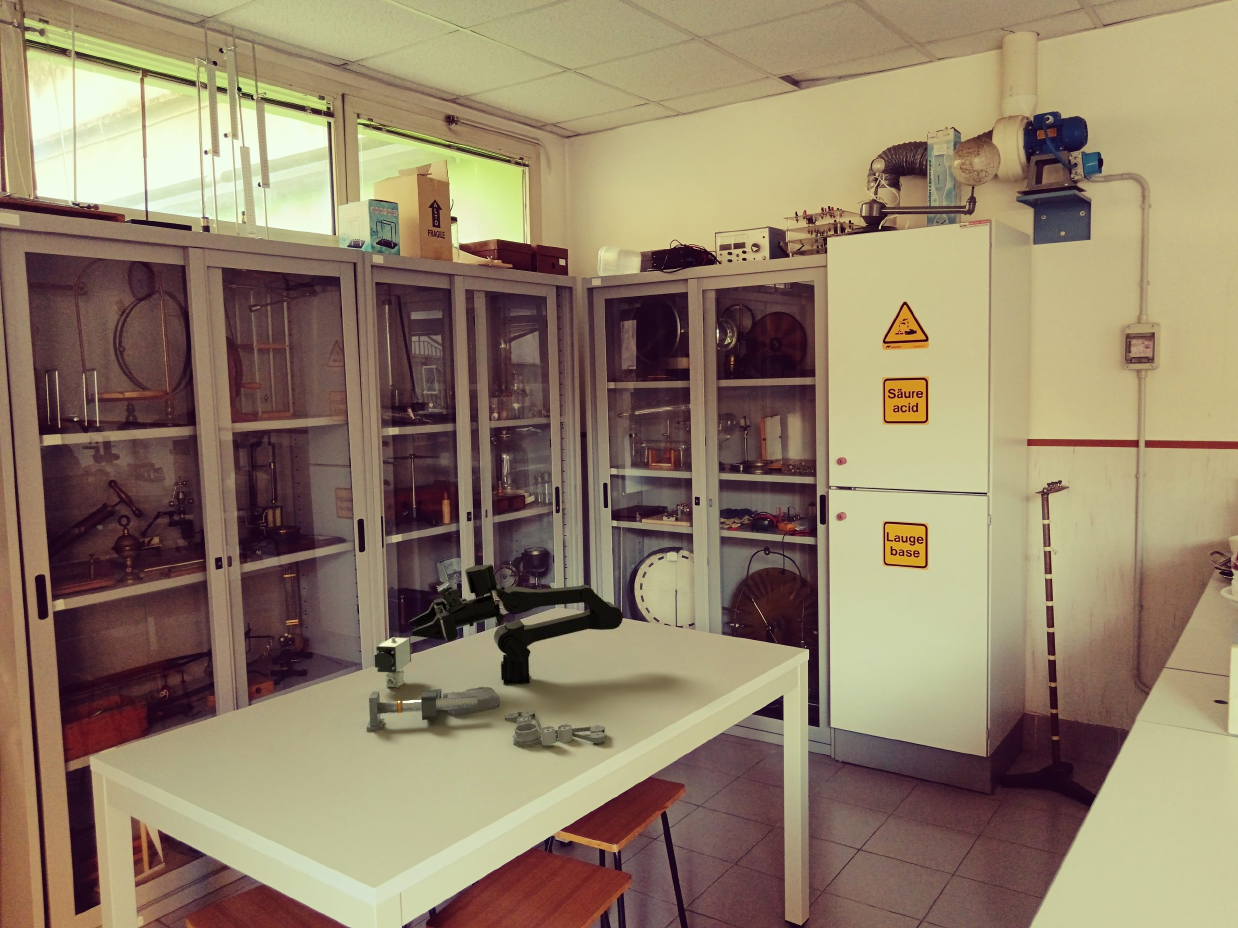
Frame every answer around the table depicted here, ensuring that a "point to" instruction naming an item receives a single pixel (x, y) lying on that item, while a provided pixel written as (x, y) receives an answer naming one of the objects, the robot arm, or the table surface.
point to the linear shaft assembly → (411, 707)
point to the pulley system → (548, 731)
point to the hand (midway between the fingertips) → (410, 628)
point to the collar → (430, 704)
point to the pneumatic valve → (393, 659)
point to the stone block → (485, 700)
